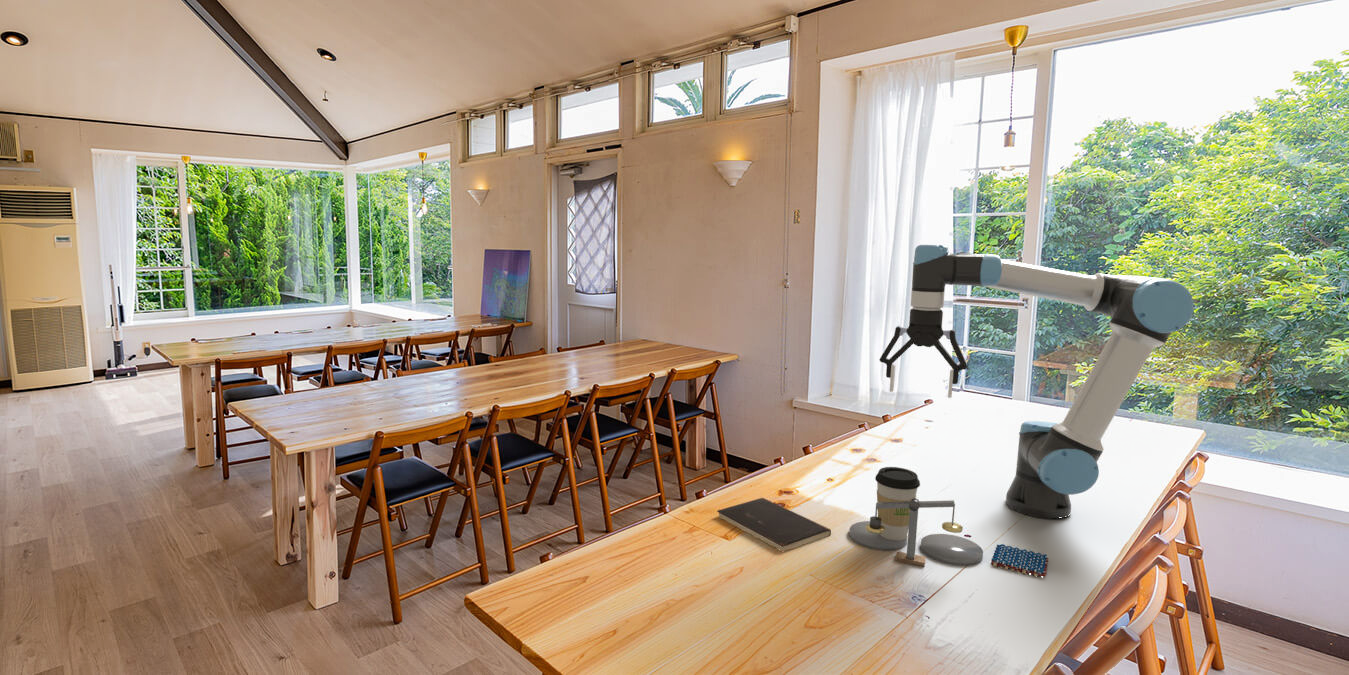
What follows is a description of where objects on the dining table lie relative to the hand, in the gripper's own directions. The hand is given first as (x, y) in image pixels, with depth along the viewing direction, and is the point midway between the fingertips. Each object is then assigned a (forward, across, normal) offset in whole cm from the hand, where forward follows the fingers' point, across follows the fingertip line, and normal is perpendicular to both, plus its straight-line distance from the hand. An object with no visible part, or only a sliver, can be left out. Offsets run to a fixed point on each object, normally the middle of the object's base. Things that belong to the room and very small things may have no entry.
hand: (920, 393), depth 167 cm
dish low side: (+32, +6, +18) cm, 37 cm away
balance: (+32, -2, +26) cm, 41 cm away
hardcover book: (+32, +30, +22) cm, 50 cm away
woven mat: (+32, -24, +17) cm, 44 cm away
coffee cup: (+31, +3, +17) cm, 35 cm away
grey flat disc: (+32, -10, +18) cm, 38 cm away
